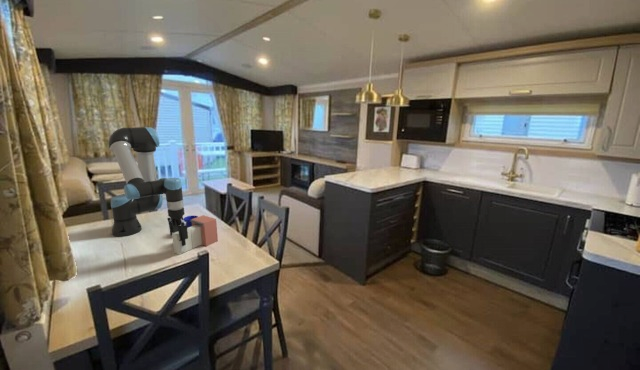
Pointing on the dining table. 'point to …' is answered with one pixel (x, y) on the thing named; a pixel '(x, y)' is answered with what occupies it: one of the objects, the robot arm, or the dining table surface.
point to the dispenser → (207, 229)
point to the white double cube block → (192, 240)
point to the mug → (189, 220)
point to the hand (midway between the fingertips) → (180, 249)
